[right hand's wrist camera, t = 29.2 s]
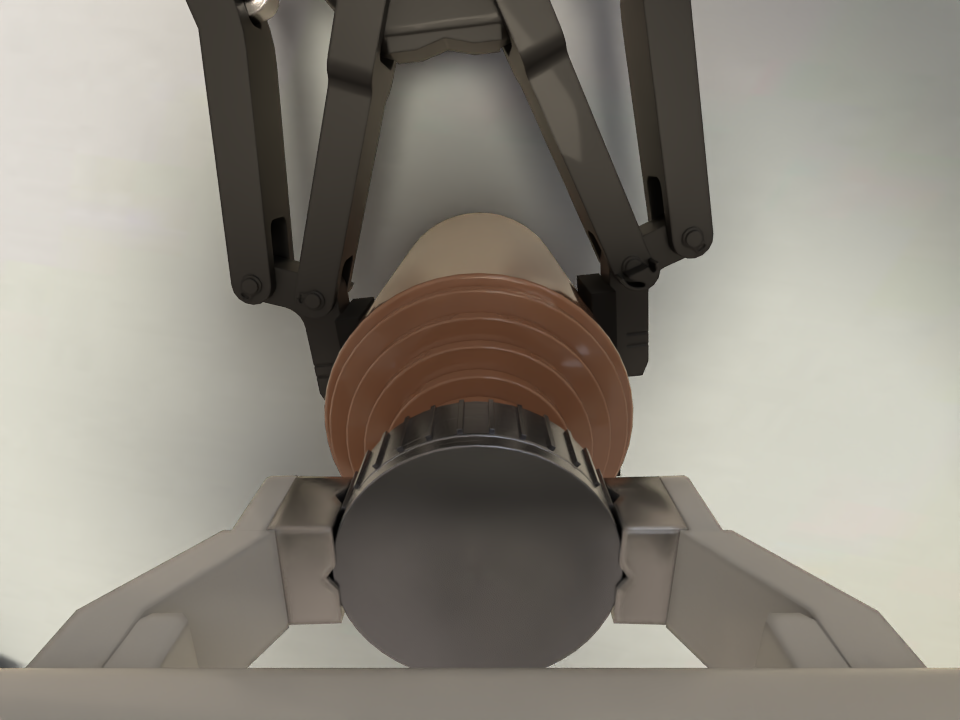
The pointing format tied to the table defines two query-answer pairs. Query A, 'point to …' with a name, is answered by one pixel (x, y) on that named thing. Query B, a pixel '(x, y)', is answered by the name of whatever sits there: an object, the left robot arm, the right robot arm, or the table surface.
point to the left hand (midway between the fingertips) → (493, 466)
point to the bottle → (479, 344)
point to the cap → (477, 541)
